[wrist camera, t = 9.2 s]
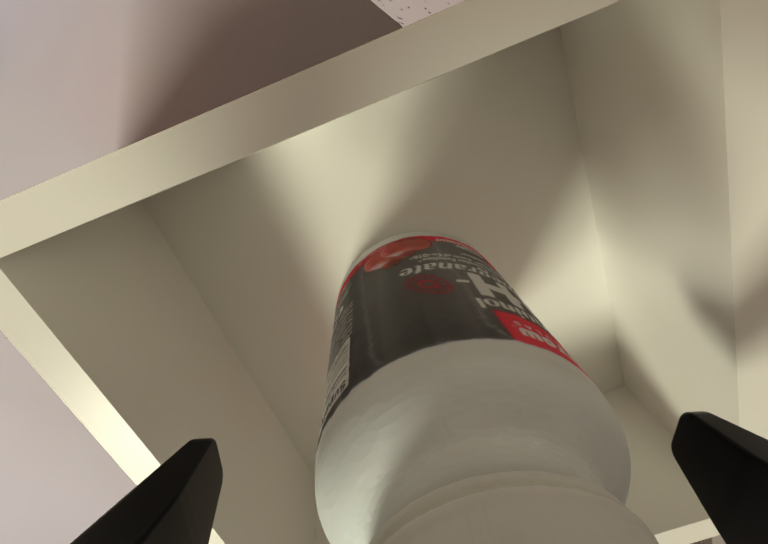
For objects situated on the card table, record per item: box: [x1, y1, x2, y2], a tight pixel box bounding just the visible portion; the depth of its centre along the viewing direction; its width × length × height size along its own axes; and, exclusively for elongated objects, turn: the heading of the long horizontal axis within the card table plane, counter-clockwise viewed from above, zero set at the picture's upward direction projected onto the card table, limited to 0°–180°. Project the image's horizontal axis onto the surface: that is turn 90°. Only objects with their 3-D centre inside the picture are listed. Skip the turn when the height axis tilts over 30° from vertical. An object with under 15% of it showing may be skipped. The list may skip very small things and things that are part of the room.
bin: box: [0, 0, 768, 544], centre depth 11 cm, size 14×14×6 cm
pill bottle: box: [315, 231, 659, 544], centre depth 9 cm, size 5×5×10 cm
